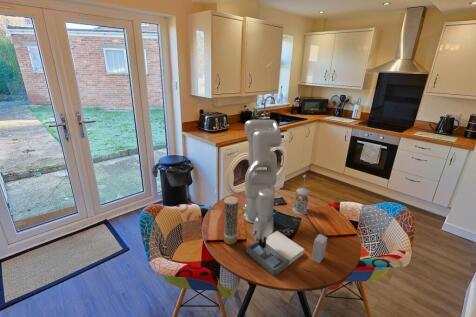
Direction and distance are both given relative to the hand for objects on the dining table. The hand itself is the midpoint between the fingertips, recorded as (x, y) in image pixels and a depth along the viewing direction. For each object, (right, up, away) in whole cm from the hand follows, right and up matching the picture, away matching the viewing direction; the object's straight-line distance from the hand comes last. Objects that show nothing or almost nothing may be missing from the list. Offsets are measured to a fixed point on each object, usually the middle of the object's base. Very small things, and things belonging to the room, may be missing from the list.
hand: (262, 246), depth 121 cm
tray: (+2, -5, -2) cm, 6 cm away
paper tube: (-16, 0, +9) cm, 18 cm away
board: (+10, -3, +4) cm, 12 cm away
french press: (+28, +10, +38) cm, 48 cm away
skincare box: (+27, -6, -1) cm, 28 cm away
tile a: (+4, -4, -8) cm, 10 cm away
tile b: (-2, -2, -1) cm, 3 cm away
